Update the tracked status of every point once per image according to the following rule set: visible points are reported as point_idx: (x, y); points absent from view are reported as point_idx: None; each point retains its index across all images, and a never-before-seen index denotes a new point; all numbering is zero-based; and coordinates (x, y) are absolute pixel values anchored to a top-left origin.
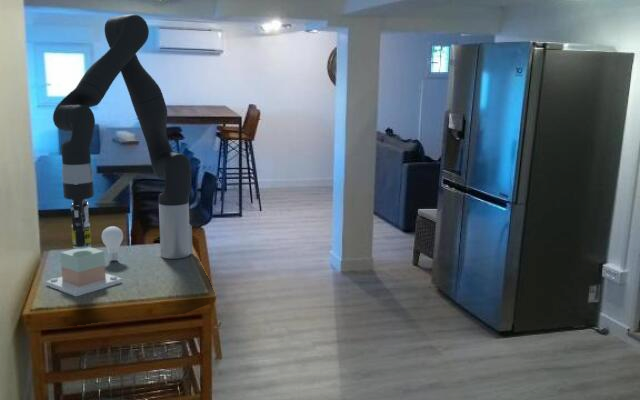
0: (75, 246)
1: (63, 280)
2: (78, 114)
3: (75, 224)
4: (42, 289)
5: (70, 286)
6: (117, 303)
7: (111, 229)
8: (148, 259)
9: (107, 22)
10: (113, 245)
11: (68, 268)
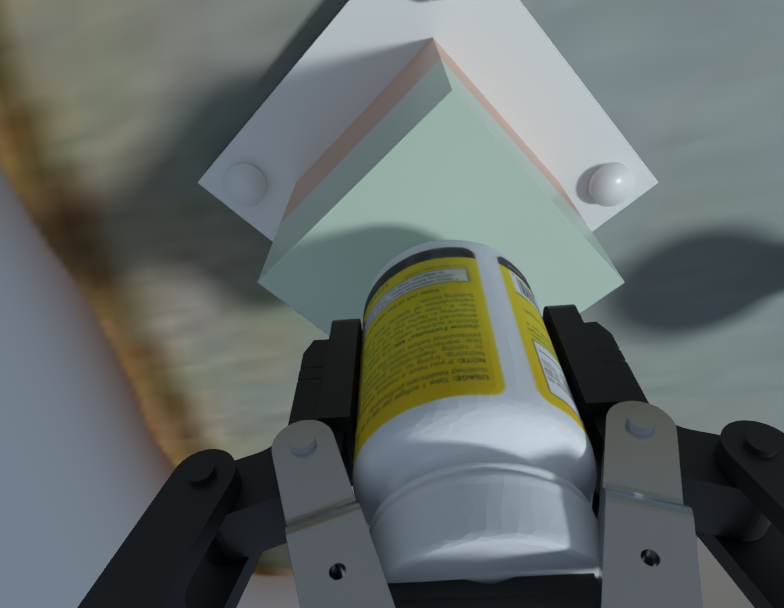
0: (376, 284)
1: (424, 48)
2: None
3: (286, 516)
4: None
5: (299, 127)
6: (135, 363)
7: None
8: (781, 405)
9: None
10: None
11: (367, 136)
